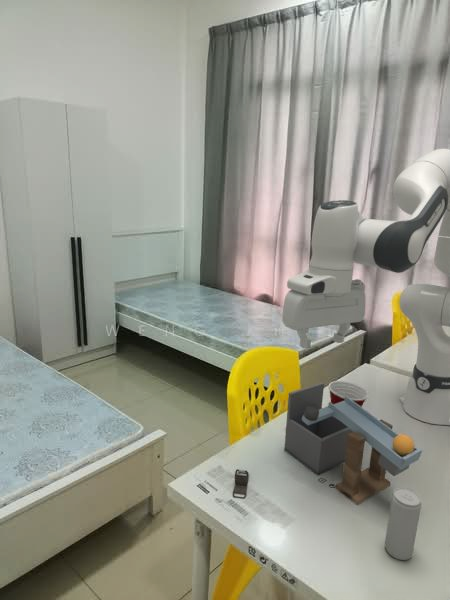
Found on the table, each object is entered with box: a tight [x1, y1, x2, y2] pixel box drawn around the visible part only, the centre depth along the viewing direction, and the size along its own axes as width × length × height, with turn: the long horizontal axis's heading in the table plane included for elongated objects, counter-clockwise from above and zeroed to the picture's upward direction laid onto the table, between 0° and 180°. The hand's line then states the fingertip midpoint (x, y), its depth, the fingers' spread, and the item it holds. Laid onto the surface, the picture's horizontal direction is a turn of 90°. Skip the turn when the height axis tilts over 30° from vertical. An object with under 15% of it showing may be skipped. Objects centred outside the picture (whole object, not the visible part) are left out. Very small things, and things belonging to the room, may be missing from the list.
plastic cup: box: [328, 380, 370, 408], centre depth 118 cm, size 11×11×12 cm
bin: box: [284, 382, 353, 476], centre depth 105 cm, size 12×12×16 cm
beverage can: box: [384, 487, 422, 561], centre depth 77 cm, size 5×5×12 cm
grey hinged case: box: [232, 469, 250, 500], centre depth 94 cm, size 8×3×4 cm, turn 171°
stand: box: [335, 419, 393, 505], centre depth 94 cm, size 11×6×14 cm, turn 124°
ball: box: [393, 433, 415, 455], centre depth 86 cm, size 4×4×4 cm
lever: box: [302, 396, 423, 478], centre depth 90 cm, size 14×20×6 cm
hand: (322, 344), depth 91 cm, fingers open, 8 cm apart
